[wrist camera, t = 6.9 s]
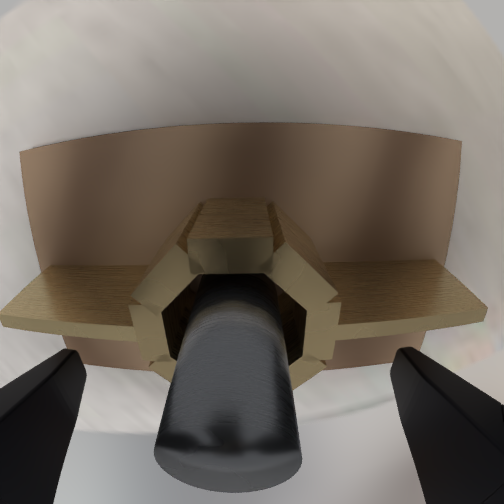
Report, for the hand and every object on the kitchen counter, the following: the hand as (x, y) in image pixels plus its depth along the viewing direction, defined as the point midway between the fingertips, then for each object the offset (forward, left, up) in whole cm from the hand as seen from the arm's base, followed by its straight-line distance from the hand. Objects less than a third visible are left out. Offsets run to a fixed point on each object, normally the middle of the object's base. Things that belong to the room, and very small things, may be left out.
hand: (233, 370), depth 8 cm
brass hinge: (0, 0, -6) cm, 6 cm away
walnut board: (0, 0, -7) cm, 7 cm away
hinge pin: (0, 0, -6) cm, 6 cm away
